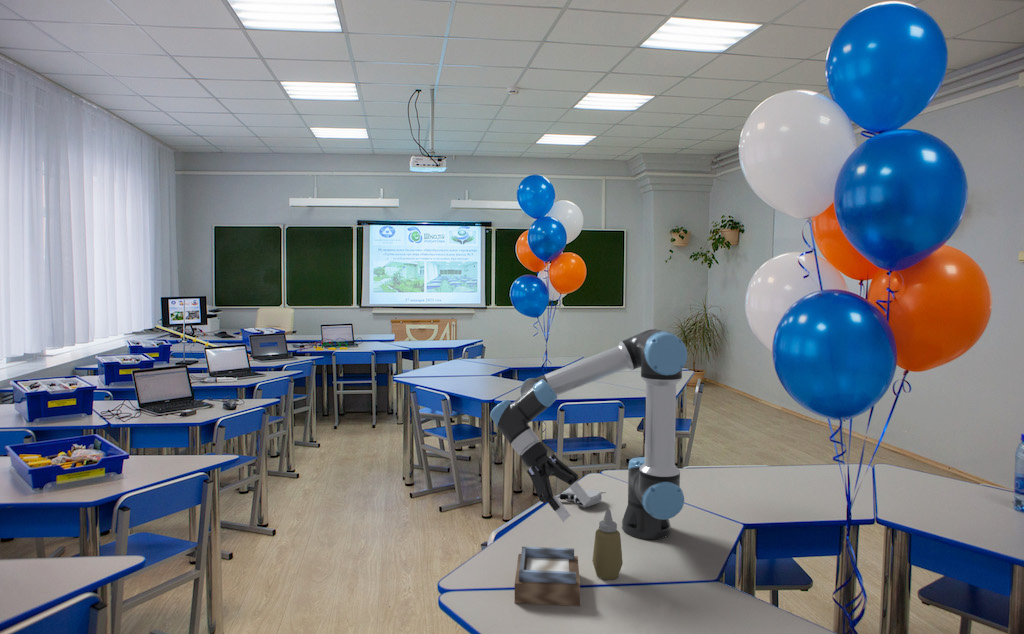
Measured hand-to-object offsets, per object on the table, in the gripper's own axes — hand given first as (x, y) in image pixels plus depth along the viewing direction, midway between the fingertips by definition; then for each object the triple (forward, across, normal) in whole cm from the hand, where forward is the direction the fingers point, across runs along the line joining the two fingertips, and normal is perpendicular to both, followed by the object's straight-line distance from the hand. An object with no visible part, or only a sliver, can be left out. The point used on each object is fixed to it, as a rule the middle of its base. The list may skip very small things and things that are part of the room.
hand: (577, 510), depth 163 cm
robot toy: (-2, -46, -25) cm, 52 cm away
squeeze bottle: (+18, 0, -5) cm, 19 cm away
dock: (+10, +14, -13) cm, 21 cm away
